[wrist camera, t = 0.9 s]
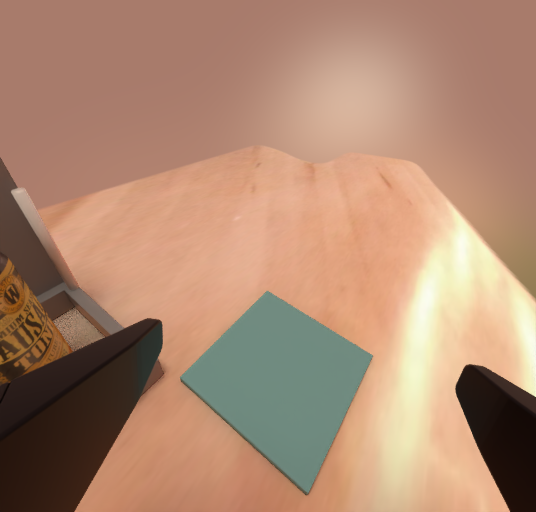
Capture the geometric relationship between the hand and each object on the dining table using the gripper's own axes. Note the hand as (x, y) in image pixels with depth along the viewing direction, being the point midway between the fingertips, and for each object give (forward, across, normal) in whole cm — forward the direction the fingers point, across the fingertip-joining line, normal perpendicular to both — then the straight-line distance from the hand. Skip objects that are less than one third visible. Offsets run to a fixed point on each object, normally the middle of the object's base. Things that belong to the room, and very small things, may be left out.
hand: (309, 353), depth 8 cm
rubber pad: (+12, -1, +12) cm, 17 cm away
